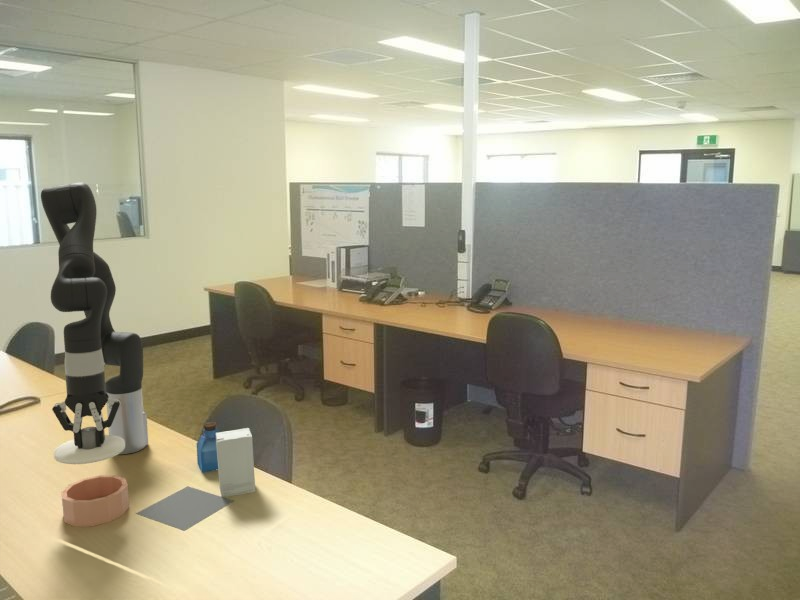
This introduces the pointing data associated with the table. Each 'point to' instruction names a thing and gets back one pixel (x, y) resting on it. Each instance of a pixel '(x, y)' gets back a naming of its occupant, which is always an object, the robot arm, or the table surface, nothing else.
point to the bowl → (95, 500)
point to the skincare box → (235, 462)
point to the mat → (185, 508)
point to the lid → (89, 448)
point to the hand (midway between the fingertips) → (90, 445)
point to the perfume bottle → (207, 448)
